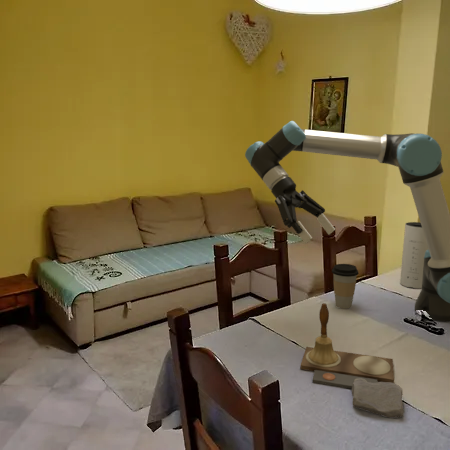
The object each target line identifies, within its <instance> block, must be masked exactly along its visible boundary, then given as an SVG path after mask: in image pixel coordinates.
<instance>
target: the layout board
mask: <svg viewBox="0 0 450 450" xmlns="http://www.w3.org/2000/svg"><path fill="white" fill-rule="evenodd" d="M313 348H314V347H310V346H306V347H305V350H304V353H303V356H302V359H301V362H300V365H299V367H300V368H299V369H300V370H304V371H309V372H310V371H311V372H314V371H315V370H319V371H326V372H332V373H339V374H345V375H351V376H358V377H364V378H370V379H377V383H378V382H391V383H394V382H395V381H394V380H395V379H394V378H395V377H394V374H395V373H394V358H389V357H383V356H382V357H381V356H375V355H367V354H362V353H361V354H360V353H354V352H353V353H352V352H346V351H340V350H339V351H338V350H334V352H335V353H336V354H337V355H338V361H337V362H336V363H333V364H329V365H323V364H318V363H315V362H313V361H311V360H310V359H309V357H308V355H309V353H310V351H311V350H313ZM394 384H395V383H394Z"/></svg>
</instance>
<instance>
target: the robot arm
mask: <svg viewBox="0 0 450 450" xmlns="http://www.w3.org/2000/svg"><path fill="white" fill-rule="evenodd" d="M291 152H304V153H311V154H312V153H313V154H314V153H315V154H320V155H321V154H323V155H332V156H341V157H351V158H359V159H360V158H361V159H366V160H367V159H369V160H377V162H378V163H380V164H386V165H392V166H394V167H398V170H399V174H400V177H401V180H402V182H403V183H402V184H404V185H405V186H407V187H409V188H410V192H411V195H412V198H413V202H414V206H415V208H416V212H417V216H418V219H419V222H420V223H421V225H422V229H423V232H424V235H425V239H426V242H427V245H428V250H426V252H425V256H424V266H423V278H422V289H420V292H419V295H418V296H417V298H416V300H415V302H414V309H413V310H414V312H415V311H416V310H423V311H426V312H427V313H428V314H429V315H430V316H431V318H432V319H433V320H432V321H435V322H436V321H437V322H448V323H449V322H450V210H449V207H448V206H449V205H448V203H447V200H446V196H445V191H444V189H443V185H442V182H441V177H442V176H443V174H444V169H443V165H442V157H443V155H442V154H443V153H442V152H443V151H442V147H441V146H440V144H439V143H438V141H437V140H436V139H434V138H433V137H432V136H430V135H429V134H424V133H403V134H402V133H401V134H399V133H398V134H392V133H391V134H387V133H384V134H383V135H382V136H379V135H378V136H377V135H368V134H367V135H366V134H357V133H356V134H355V133H346V132H336V131H327V130H326V131H325V130H324V131H323V130H315V129H303V128H301V127H300V126H299V125H298V124H297V123H296V121H294V120H291V121H289V122H288V123H286V124H284V125H283V126H282V128H281V129H279V130H278V131H277V132H276V133H275V134H273V136H272V137H271V138H270V139H268V140H267V141H266V142H265V143H264V142H263V141H255V142H254V143H253V144H251V145H249V146H248V148H247V149H246V151H245V153H244V156H245V157H244V158H246V160H247V161H248V163H249V165H250V167H251V169H253V170H254V171H255V173H256V174H257V175H258V176H259V177H260V179H261V180H262V182H263V183H264V184H265V186H266V187H267V188H268V189H269V190H270V192H271V193H272V195H273V196H274V197H275V200H274V203H275V204H276V205H277V208H278V210H279V213H280V217H281V220H282V222H283V223H282V224H284V227H285V226H287V228H288V229H290V228H292V229H293V230H294V231H295V232H296V234H297V235H298V237H299V238H300V239H301V240H302V241H303V243H304V244H308V243H309V242H310V241H311V240H312V239H313V237H312V235H311V234H310V233H309V232H308V230H307V229H306V228H305V226H304V225H303V223H302V222H301V221H300V220H297V214H296V208H297V209H302V210H304V211H306V212H307V213H309V214H311V215H313V216H314V217H316V220H317V222H318V224H320V226H321V227H322V228H323V230H324V231H325V232H326V234H327V235H329V236H330V235H331V234H332V233H333V232H334V231H335V230H336V227H334V225H333V224H332V223H331V221H330V220H329V219H328V218H327V216H326V215H325V214H324V213H325V212H326V209H325V208H324V207H323V206H322V205H320V204H319V203H318V202H317V201H316V200H314V199H313V198H312V197H310V196H309V195H308V194H307V193H306V191H304V190H303V189H302V190H301V191H300V192H298V191H297V190H296V189H297V184H296V183H295V181H294V180H293V179H292V177H291V176H290V175H289V174H288V173H287V171H286V170H285V168H283V166H282V165H281V164H280V162H281V161H283V159H284V158H286V156H288V155H289V154H291Z"/></svg>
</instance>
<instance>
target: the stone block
mask: <svg viewBox="0 0 450 450" xmlns="http://www.w3.org/2000/svg"><path fill="white" fill-rule="evenodd" d="M403 393H404V392H403V388H402V387H401V386H400V385H398V384H397V383H391V382H378V381H377V383H371V382H366V381H364V380H362V379H358V380H356V381H354V383H353V384H352V389H351V394H352V407H353V408H355V409H360V410H363V411H365V412H369V413H373V414H374V415H378V416H383V417H385V418H403V417H404V413H405V411H404V405H403V395H404V394H403Z"/></svg>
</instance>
